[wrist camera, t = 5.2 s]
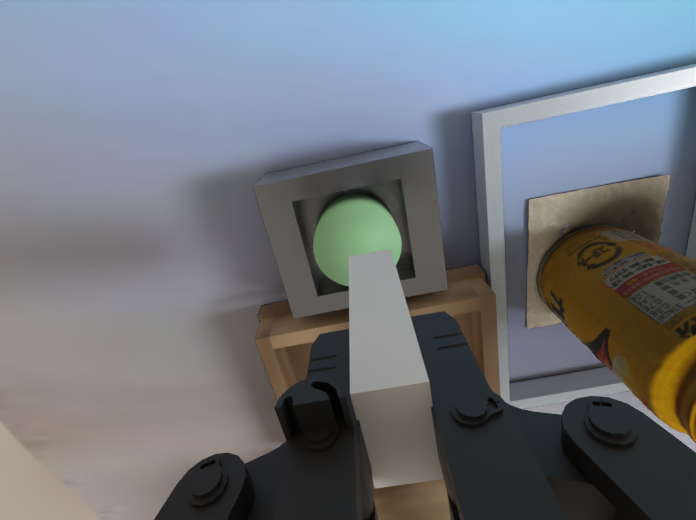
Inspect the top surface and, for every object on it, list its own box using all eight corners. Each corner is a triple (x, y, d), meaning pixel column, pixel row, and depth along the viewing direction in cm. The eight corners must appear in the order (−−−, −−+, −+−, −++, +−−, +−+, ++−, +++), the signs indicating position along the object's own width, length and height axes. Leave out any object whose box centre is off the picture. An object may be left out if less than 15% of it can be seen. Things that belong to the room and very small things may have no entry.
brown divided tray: (477, 263, 21) (499, 290, 18) (494, 517, 31) (510, 561, 28) (261, 305, 22) (249, 337, 19) (343, 540, 32) (344, 585, 29)
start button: (388, 186, 17) (394, 196, 16) (400, 260, 19) (407, 278, 17) (307, 202, 18) (303, 215, 16) (325, 275, 19) (324, 294, 18)
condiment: (525, 327, 23) (693, 532, 12) (527, 198, 20) (759, 322, 9) (643, 307, 23) (925, 501, 12) (665, 173, 19) (1088, 269, 8)
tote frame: (739, 53, 17) (774, 49, 16) (677, 363, 25) (697, 379, 23) (471, 112, 18) (482, 113, 17) (489, 395, 25) (497, 412, 24)
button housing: (418, 140, 18) (432, 148, 16) (433, 264, 21) (447, 289, 18) (265, 173, 19) (252, 186, 16) (299, 290, 22) (293, 318, 19)
